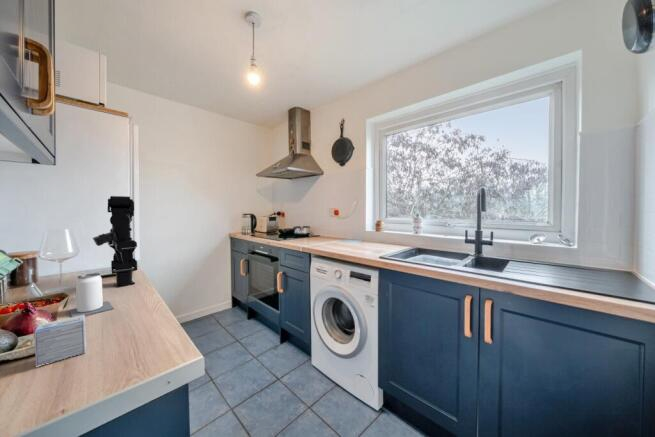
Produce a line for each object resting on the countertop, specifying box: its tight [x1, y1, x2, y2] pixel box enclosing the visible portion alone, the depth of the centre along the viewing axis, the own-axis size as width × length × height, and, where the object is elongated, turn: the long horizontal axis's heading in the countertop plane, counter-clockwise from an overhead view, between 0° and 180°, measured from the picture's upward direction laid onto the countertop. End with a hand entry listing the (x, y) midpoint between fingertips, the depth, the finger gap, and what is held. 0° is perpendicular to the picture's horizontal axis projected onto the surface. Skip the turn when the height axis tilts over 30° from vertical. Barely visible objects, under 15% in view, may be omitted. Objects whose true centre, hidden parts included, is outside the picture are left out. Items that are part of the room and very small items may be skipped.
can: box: [75, 272, 104, 313], centre depth 82 cm, size 6×6×12 cm
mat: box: [68, 301, 115, 318], centre depth 83 cm, size 10×10×1 cm
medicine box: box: [33, 315, 87, 367], centre depth 57 cm, size 8×4×9 cm, turn 135°
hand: (122, 262), depth 99 cm, fingers open, 9 cm apart
